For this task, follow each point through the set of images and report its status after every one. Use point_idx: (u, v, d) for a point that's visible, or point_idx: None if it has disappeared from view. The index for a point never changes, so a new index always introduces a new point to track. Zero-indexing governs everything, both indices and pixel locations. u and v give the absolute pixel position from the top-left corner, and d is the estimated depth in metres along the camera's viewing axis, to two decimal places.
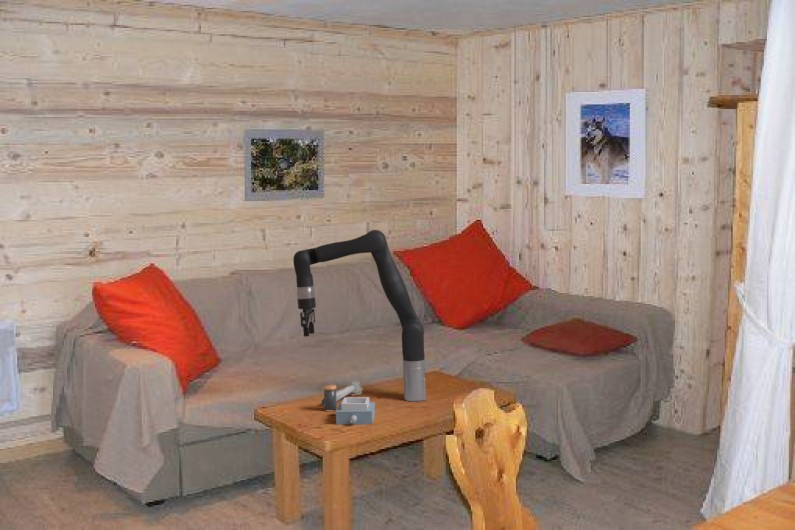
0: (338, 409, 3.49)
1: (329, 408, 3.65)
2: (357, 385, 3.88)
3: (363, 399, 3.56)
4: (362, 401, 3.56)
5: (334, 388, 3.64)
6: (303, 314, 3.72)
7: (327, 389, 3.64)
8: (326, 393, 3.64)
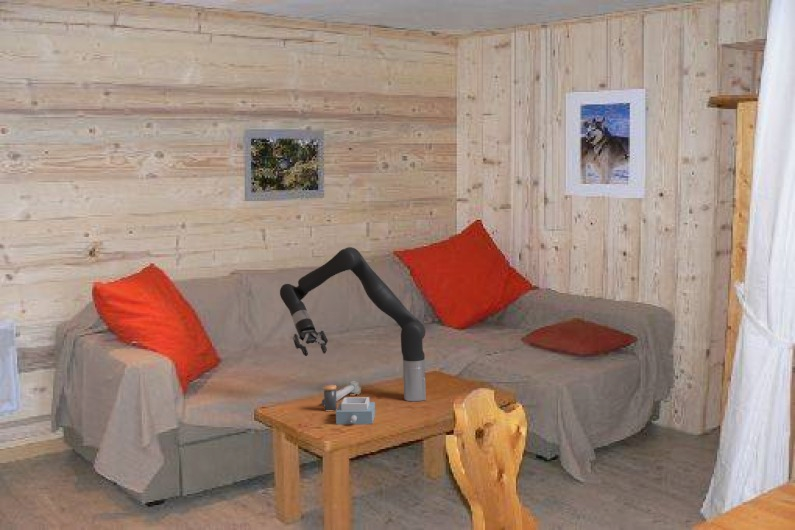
0: (338, 409, 3.49)
1: (329, 408, 3.65)
2: (356, 385, 3.89)
3: (363, 399, 3.56)
4: (362, 401, 3.56)
5: (334, 388, 3.64)
6: (293, 337, 3.76)
7: (327, 389, 3.64)
8: (326, 393, 3.64)
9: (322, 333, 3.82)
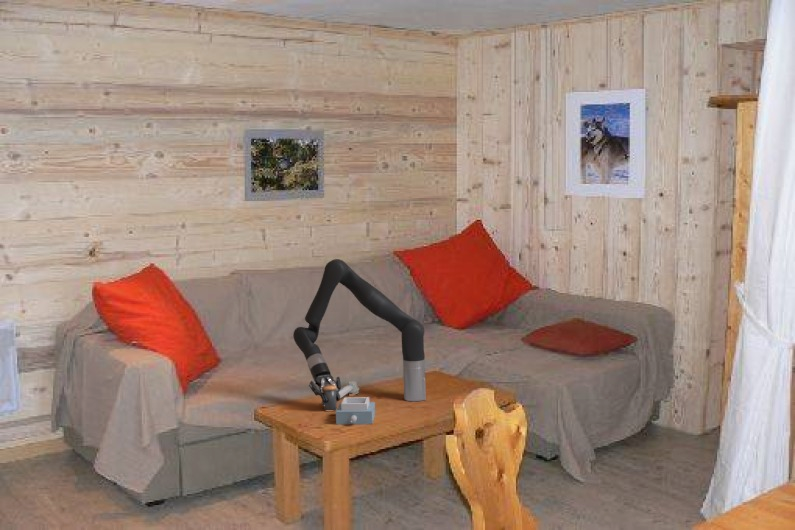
0: (338, 409, 3.49)
1: (329, 408, 3.65)
2: (354, 385, 3.89)
3: (363, 399, 3.56)
4: (362, 401, 3.56)
5: (334, 388, 3.64)
6: (310, 384, 3.66)
7: (327, 389, 3.64)
8: (326, 393, 3.64)
9: (338, 379, 3.72)
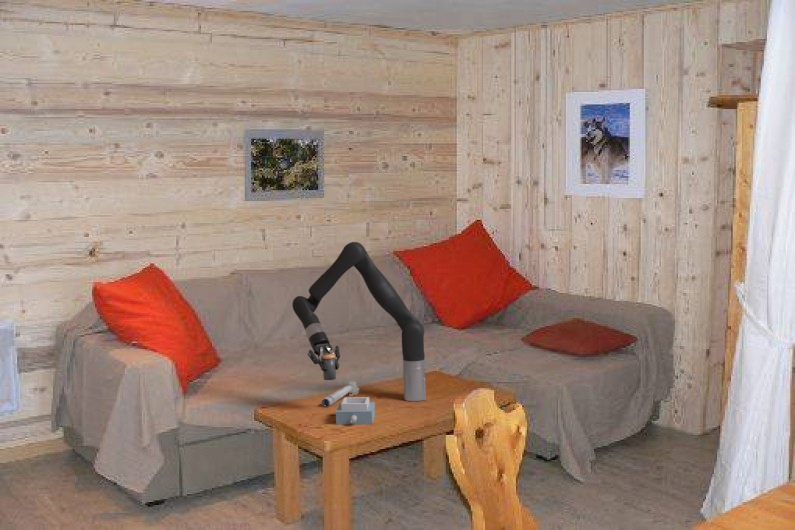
0: (338, 409, 3.49)
1: (328, 377, 3.63)
2: (354, 385, 3.89)
3: (363, 399, 3.56)
4: (362, 401, 3.56)
5: (333, 356, 3.63)
6: (309, 353, 3.65)
7: (326, 357, 3.62)
8: (325, 362, 3.63)
9: (336, 348, 3.70)
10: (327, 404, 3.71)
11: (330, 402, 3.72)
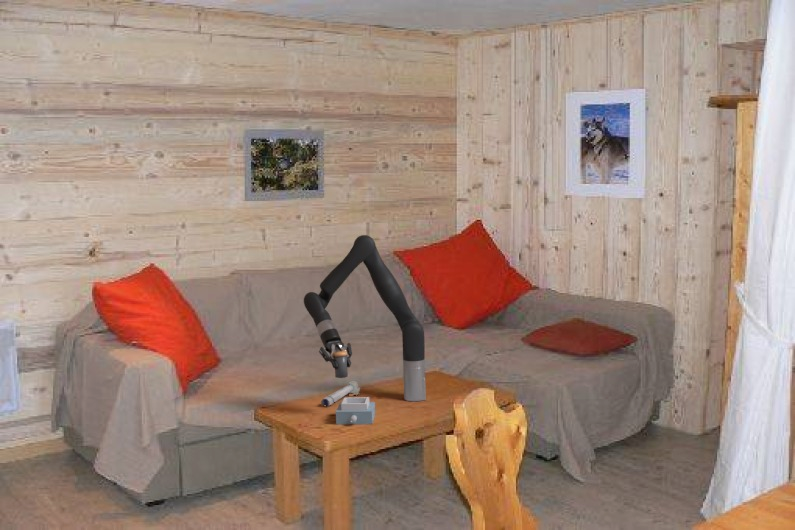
0: (338, 409, 3.49)
1: (340, 374, 3.56)
2: (355, 385, 3.88)
3: (363, 399, 3.56)
4: (362, 401, 3.56)
5: (345, 354, 3.56)
6: (320, 350, 3.58)
7: (337, 355, 3.55)
8: (336, 359, 3.56)
9: (348, 345, 3.63)
10: (327, 404, 3.71)
11: (330, 402, 3.72)
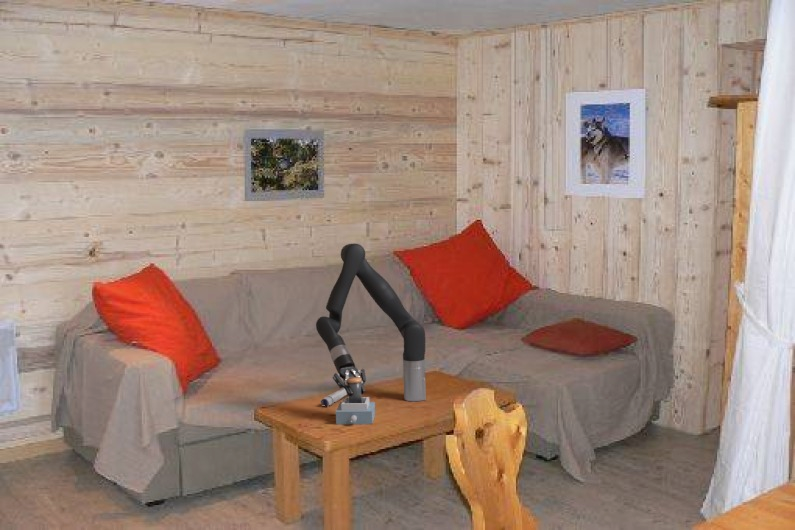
0: (338, 409, 3.49)
1: (354, 401, 3.49)
2: None
3: (363, 399, 3.56)
4: (362, 401, 3.56)
5: (359, 380, 3.49)
6: (334, 376, 3.51)
7: (352, 381, 3.48)
8: (351, 386, 3.49)
9: (362, 371, 3.57)
10: (326, 404, 3.71)
11: (329, 402, 3.72)
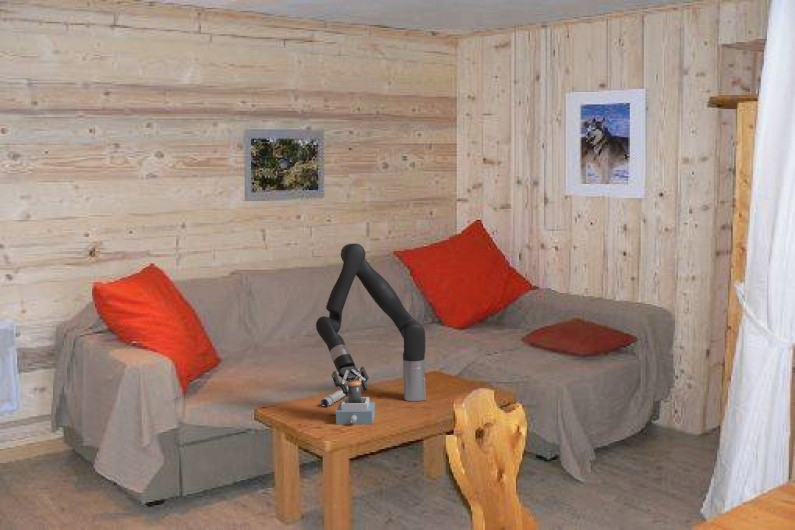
0: (338, 409, 3.49)
1: None
2: None
3: (363, 399, 3.56)
4: (362, 401, 3.56)
5: (359, 384, 3.49)
6: (332, 374, 3.52)
7: (351, 385, 3.48)
8: (350, 389, 3.49)
9: (362, 369, 3.57)
10: (326, 404, 3.71)
11: (329, 402, 3.71)
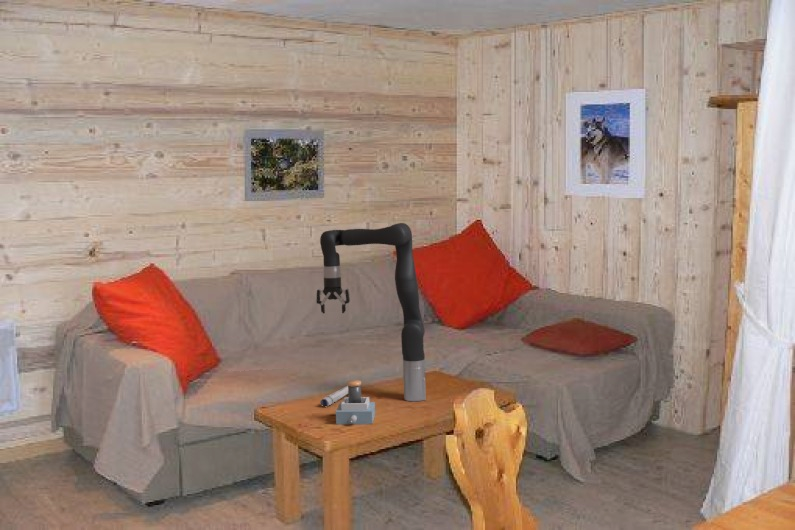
0: (338, 409, 3.49)
1: None
2: None
3: (363, 399, 3.56)
4: (362, 401, 3.56)
5: (359, 384, 3.49)
6: (317, 291, 3.88)
7: (351, 385, 3.48)
8: (350, 389, 3.49)
9: (346, 293, 3.87)
10: (326, 404, 3.71)
11: (329, 402, 3.71)
